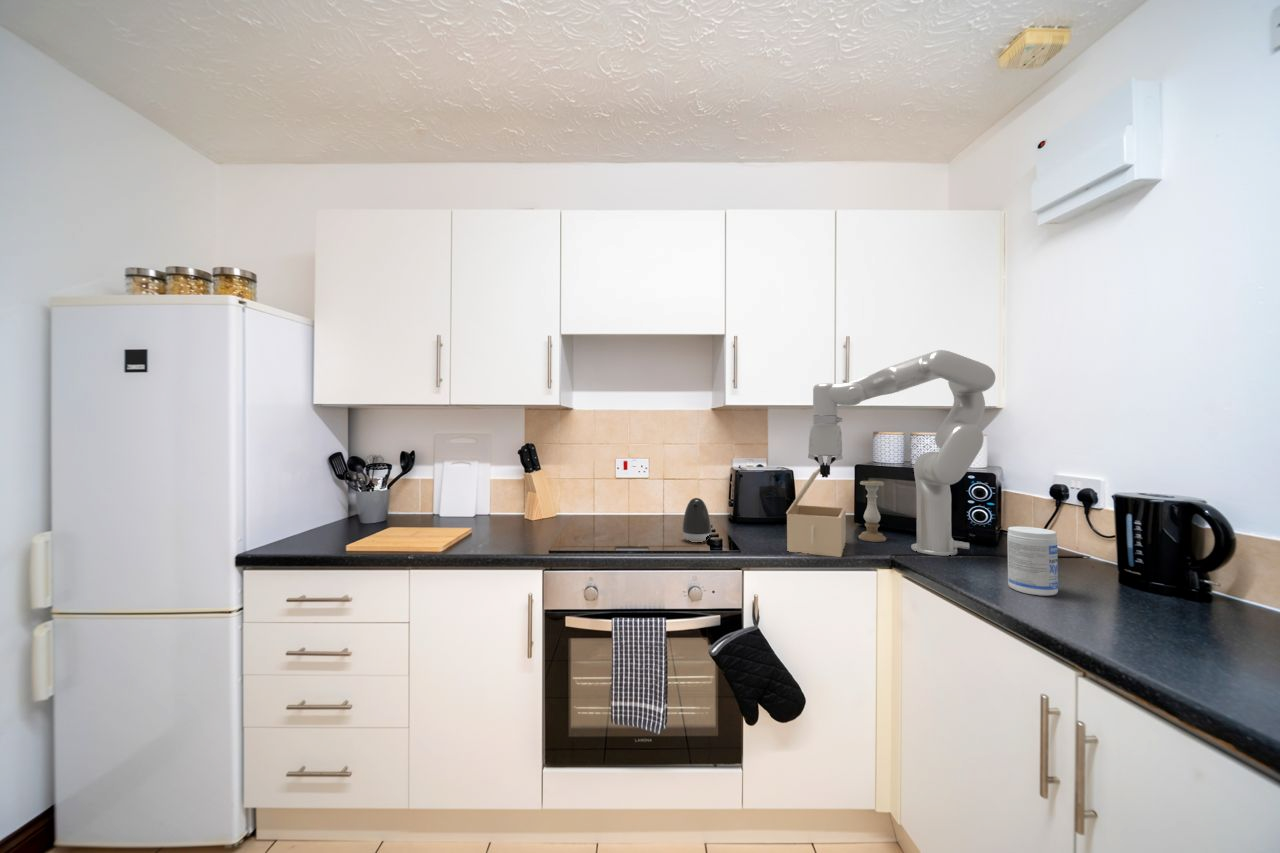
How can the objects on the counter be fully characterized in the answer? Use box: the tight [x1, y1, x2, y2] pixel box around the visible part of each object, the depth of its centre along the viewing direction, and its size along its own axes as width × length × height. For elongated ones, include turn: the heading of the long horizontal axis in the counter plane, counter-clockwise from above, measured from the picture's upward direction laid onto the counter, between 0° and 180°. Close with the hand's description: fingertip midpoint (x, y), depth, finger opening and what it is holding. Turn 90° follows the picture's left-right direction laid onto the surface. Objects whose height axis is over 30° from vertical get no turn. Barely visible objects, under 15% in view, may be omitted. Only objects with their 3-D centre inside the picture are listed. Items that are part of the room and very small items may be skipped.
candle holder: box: [858, 480, 887, 543], centre depth 174 cm, size 9×9×20 cm
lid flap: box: [785, 467, 820, 515], centre depth 165 cm, size 16×20×1 cm
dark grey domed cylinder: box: [681, 497, 712, 542], centre depth 172 cm, size 10×10×15 cm
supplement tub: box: [1006, 526, 1059, 597], centre depth 119 cm, size 10×10×15 cm
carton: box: [786, 504, 847, 558], centre depth 161 cm, size 16×24×12 cm, turn 154°
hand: (825, 476), depth 162 cm, fingers closed
